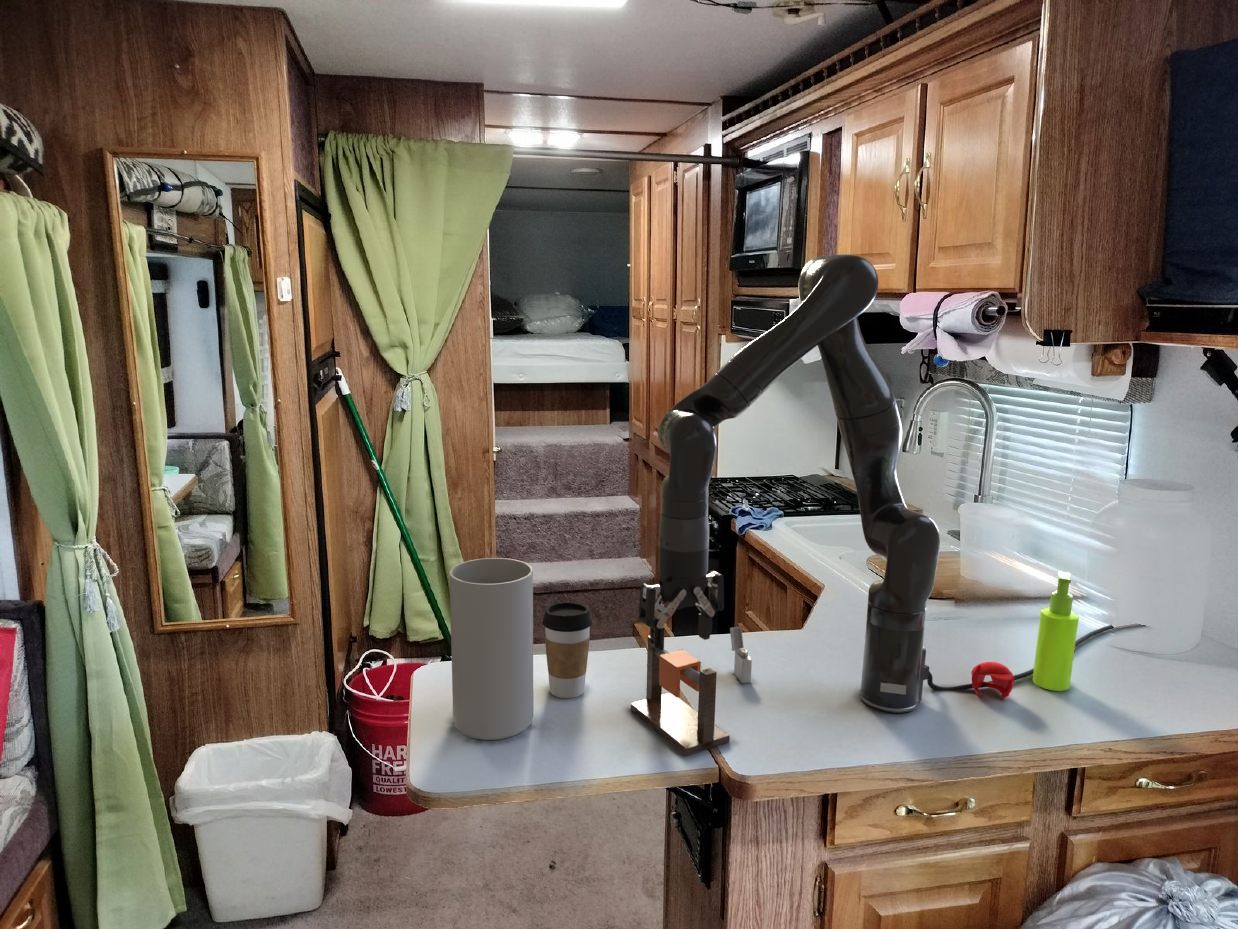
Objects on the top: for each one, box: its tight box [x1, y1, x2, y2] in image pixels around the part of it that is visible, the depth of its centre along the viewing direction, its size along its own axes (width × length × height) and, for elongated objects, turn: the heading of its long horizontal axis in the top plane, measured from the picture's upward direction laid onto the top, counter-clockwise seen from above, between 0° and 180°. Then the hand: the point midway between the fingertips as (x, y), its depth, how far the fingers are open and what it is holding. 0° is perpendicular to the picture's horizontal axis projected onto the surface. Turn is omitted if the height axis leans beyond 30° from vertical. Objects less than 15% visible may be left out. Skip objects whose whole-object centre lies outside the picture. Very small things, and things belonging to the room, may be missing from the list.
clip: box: [659, 649, 702, 698], centre depth 132 cm, size 4×5×5 cm
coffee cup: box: [541, 601, 593, 699], centre depth 143 cm, size 8×8×15 cm
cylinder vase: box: [449, 557, 534, 741], centre depth 131 cm, size 12×12×25 cm
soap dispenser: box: [1032, 570, 1080, 692], centre depth 149 cm, size 6×7×20 cm
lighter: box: [729, 626, 753, 684], centre depth 151 cm, size 7×2×8 cm, turn 12°
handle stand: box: [630, 635, 731, 757], centre depth 132 cm, size 8×16×12 cm, turn 30°
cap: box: [971, 661, 1015, 700], centre depth 145 cm, size 8×6×6 cm
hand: (681, 643), depth 131 cm, fingers open, 8 cm apart
